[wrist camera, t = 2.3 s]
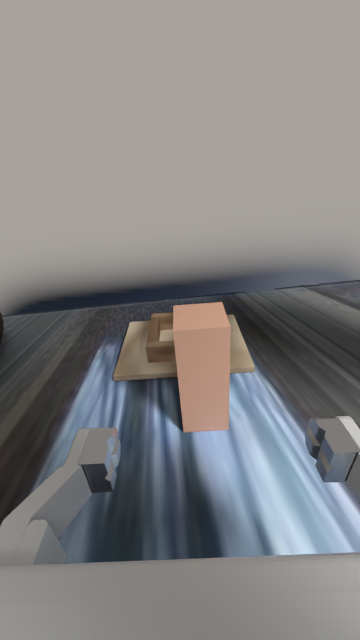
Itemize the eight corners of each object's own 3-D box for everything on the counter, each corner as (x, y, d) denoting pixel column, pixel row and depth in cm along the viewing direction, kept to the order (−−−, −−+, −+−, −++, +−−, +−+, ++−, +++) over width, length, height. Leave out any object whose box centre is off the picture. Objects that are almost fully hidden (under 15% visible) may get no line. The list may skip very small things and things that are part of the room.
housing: (233, 318, 45) (233, 301, 44) (254, 371, 33) (256, 350, 32) (130, 326, 46) (127, 309, 44) (114, 381, 34) (108, 360, 32)
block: (221, 396, 30) (221, 302, 24) (228, 429, 26) (230, 326, 20) (182, 398, 30) (173, 305, 24) (183, 432, 26) (172, 330, 20)
